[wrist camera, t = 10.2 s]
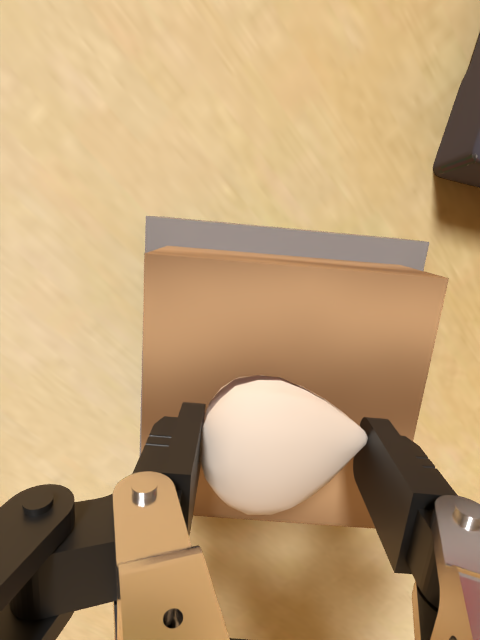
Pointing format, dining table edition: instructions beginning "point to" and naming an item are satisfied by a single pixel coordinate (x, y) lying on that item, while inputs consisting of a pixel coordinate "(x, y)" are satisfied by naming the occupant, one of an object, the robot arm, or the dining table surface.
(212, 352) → the tower top block
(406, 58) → the dining table surface
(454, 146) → the calculator
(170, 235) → the tower base block
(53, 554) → the robot arm
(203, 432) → the pistachio nut
